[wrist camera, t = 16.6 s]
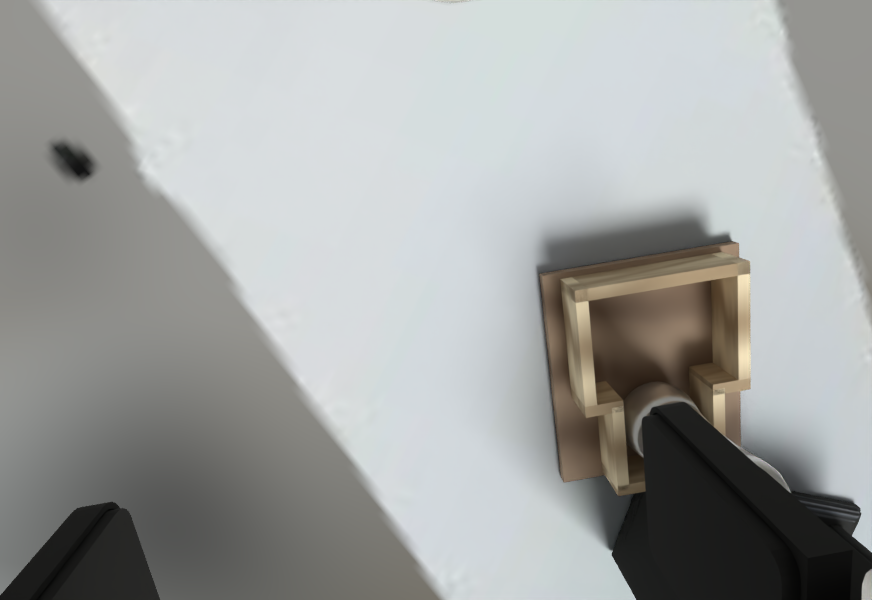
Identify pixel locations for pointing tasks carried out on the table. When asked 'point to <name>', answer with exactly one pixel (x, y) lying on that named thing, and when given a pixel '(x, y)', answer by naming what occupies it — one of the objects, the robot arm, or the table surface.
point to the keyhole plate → (643, 349)
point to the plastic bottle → (663, 394)
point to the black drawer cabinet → (649, 580)
